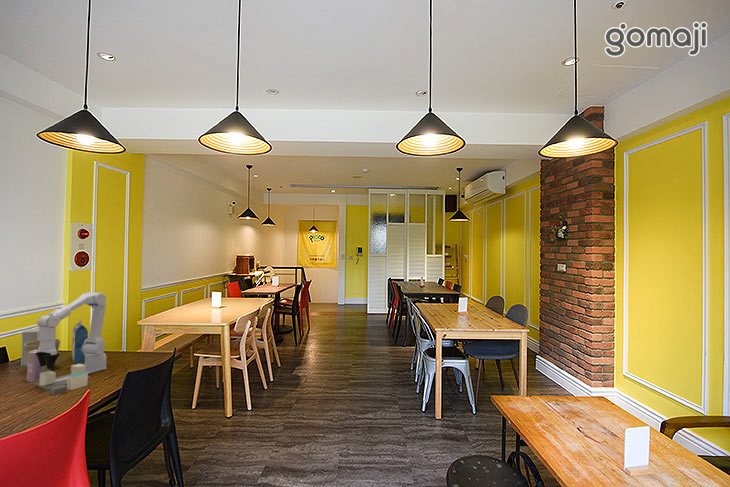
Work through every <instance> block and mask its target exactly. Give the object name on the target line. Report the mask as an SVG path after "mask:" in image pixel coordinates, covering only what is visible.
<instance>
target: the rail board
mask: <svg viewBox="0 0 730 487" xmlns="http://www.w3.org/2000/svg"><path fill="white" fill-rule="evenodd" d="M82 372H84V373H86V365H85V364H83V363H77V364H76V363H75V364H72V365H70V373H67V374H64V375H61V376H60V375H59V376H57V377H56V374H57V373H56V372H55V371H52V370H49V371H46V372H42V373H40V380H39V381H35V382H33V383H34V386H36V387H38V388H39V389H40V388H41V389H43V390H45V391H50V388H52V387H56V386H60V385H65V386H67V376H70V375H74V374H78V373H82ZM91 378H92V377H91V376H89V375H88V380H90V379H91Z"/></svg>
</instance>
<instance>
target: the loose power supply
mask: <svg viewBox="0 0 730 487" xmlns="http://www.w3.org/2000/svg"><path fill="white" fill-rule="evenodd" d="M65 393H68V389H67V385H66V386H65V385H60V386H56V387H52V388H50V390H49V395H50V396H53V397H55V396H58V395H62V394H65Z"/></svg>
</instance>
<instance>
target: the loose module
mask: <svg viewBox="0 0 730 487" xmlns="http://www.w3.org/2000/svg"><path fill="white" fill-rule="evenodd" d="M88 374H89V373H84V372H82V373H78V374H74V375H70V376H67V385H66V386H67V390H70V391H73V390H76V389H80V388H83V387H87V386H88V380H89V379H88V376H89V375H88Z"/></svg>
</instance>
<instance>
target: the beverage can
mask: <svg viewBox="0 0 730 487" xmlns="http://www.w3.org/2000/svg"><path fill="white" fill-rule="evenodd" d="M35 353H37V352H36V350H33V351H29V352H28V361H27V366H26V381H27V383H36V382H39V380H40V373H42V372H43V366H42V367H41V366H40V363H39V360H38V357H37V356H36V354H35Z"/></svg>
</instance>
